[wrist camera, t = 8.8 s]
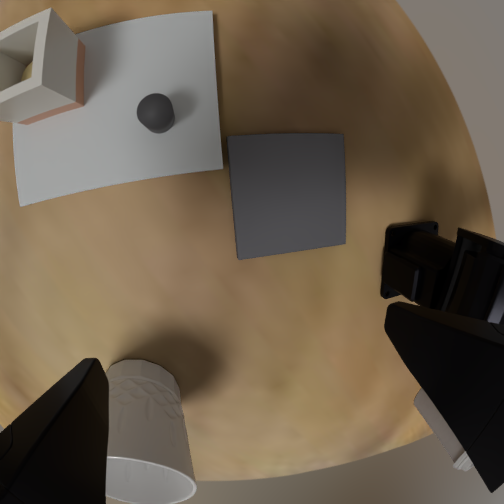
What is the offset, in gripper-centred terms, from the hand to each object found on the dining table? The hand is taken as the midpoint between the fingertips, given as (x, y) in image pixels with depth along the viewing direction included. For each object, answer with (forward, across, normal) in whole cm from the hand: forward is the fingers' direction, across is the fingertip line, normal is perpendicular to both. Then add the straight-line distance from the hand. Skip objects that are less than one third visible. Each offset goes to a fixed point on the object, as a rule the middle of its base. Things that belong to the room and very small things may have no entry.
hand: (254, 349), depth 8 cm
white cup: (+12, +8, +12) cm, 19 cm away
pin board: (+12, +6, -10) cm, 17 cm away
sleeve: (+11, +10, -12) cm, 19 cm away
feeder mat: (+12, -6, -2) cm, 13 cm away
